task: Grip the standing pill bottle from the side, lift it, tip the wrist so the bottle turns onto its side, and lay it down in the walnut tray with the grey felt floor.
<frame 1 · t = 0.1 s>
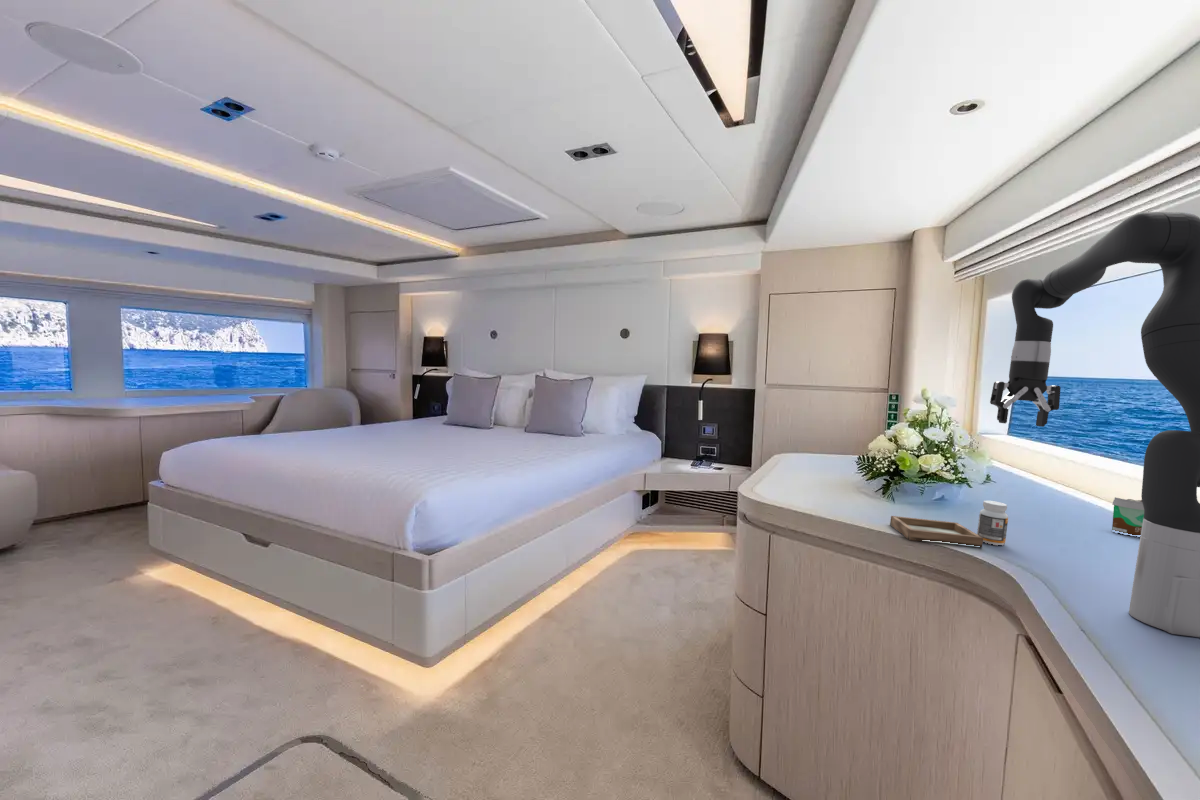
hand: (1021, 424, 132), 29 cm above the cabinet, tool pointing down, fingers open, 8 cm apart
food container: (1136, 536, 145), on the cabinet
pill bottle: (990, 543, 129), on the cabinet
tray: (933, 535, 131), on the cabinet
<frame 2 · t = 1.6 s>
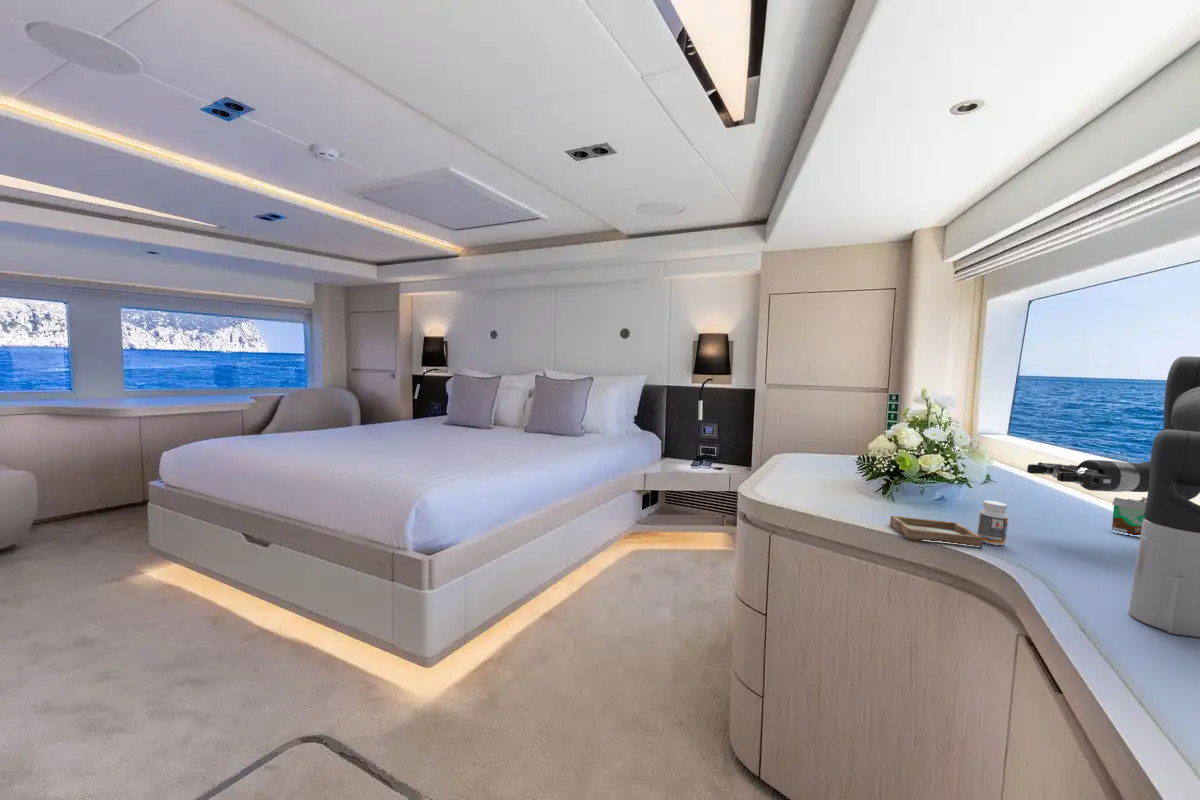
hand: (1043, 472, 128), 18 cm above the cabinet, tool horizontal, fingers open, 8 cm apart
nothing on the cabinet moved.
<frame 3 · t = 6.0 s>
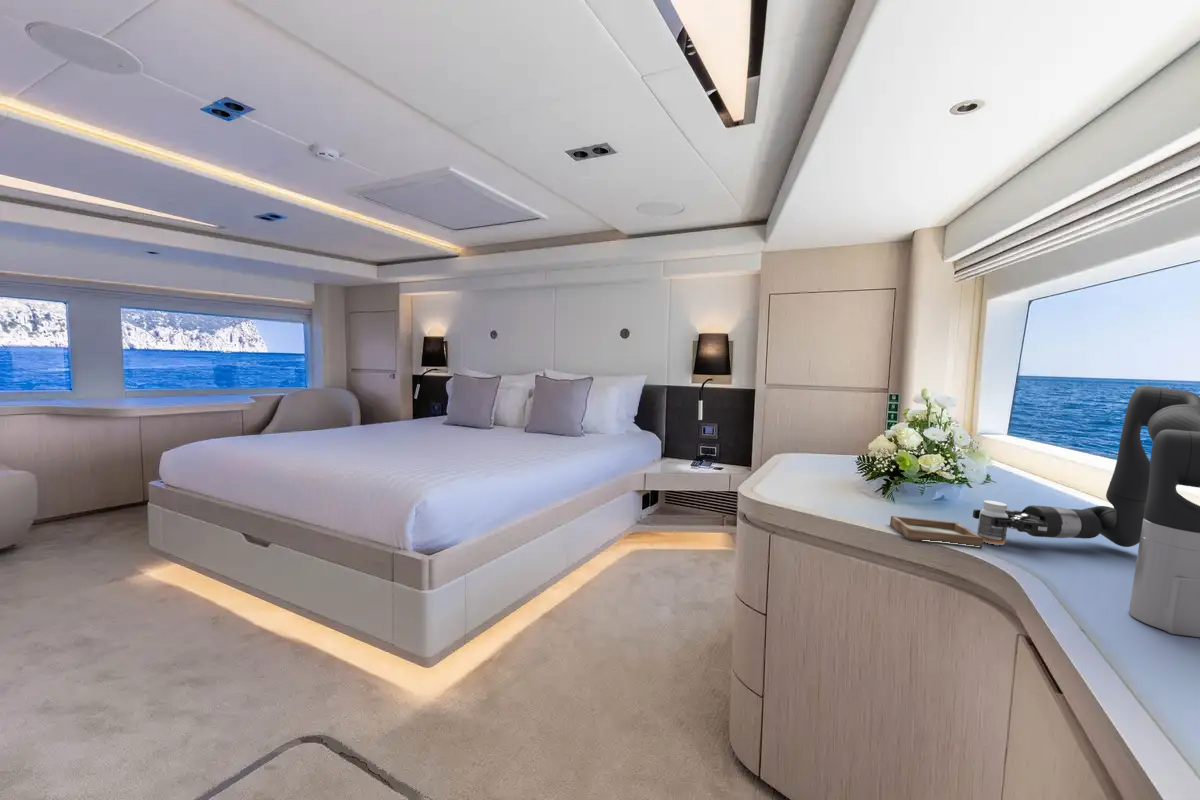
hand: (983, 517, 129), 6 cm above the cabinet, tool horizontal, fingers closed on pill bottle, 5 cm apart
pill bottle: (990, 542, 129), on the cabinet, touching gripper
everything else where it was.
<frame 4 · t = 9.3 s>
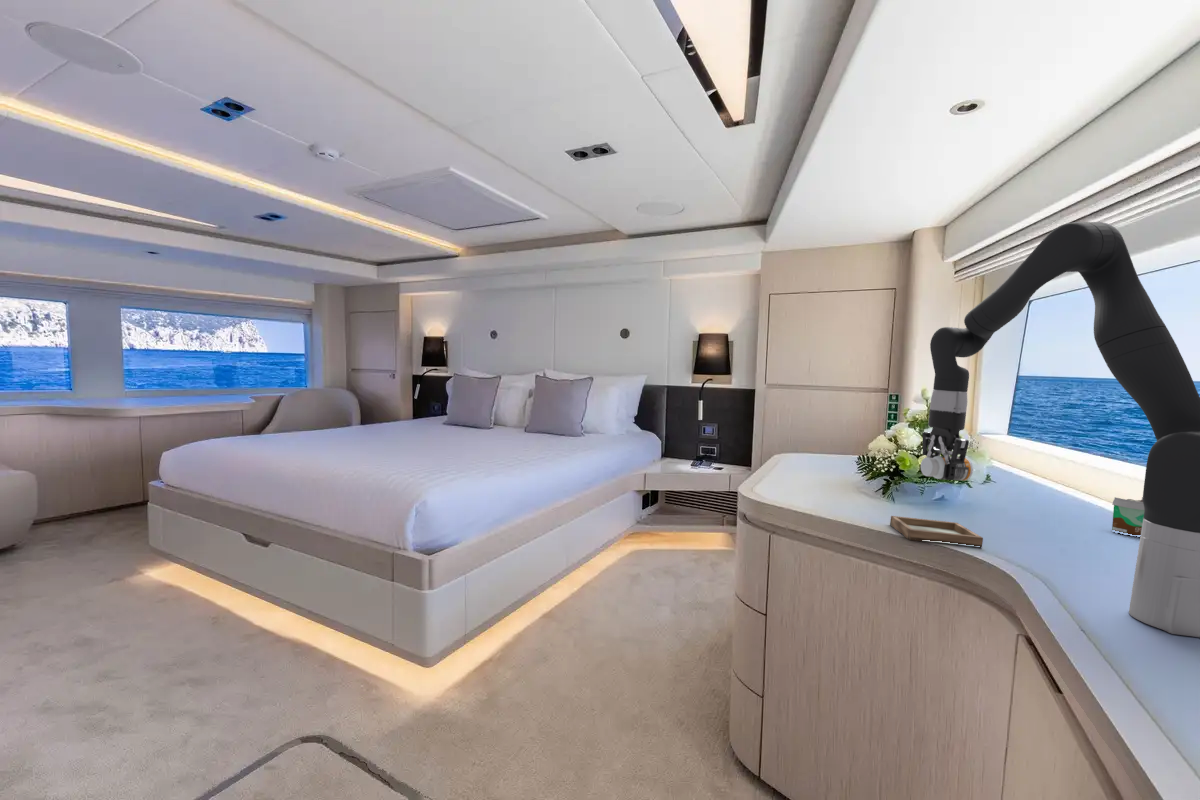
hand: (940, 476, 130), 15 cm above the cabinet, tool pointing down, fingers closed on pill bottle, 5 cm apart
pill bottle: (966, 469, 130), point 17 cm above the cabinet, touching gripper
everything else where it was.
when the fingers open (3 cm above the cabinet, at t = 12.1 s): pill bottle drops 2 cm, resting on tray.
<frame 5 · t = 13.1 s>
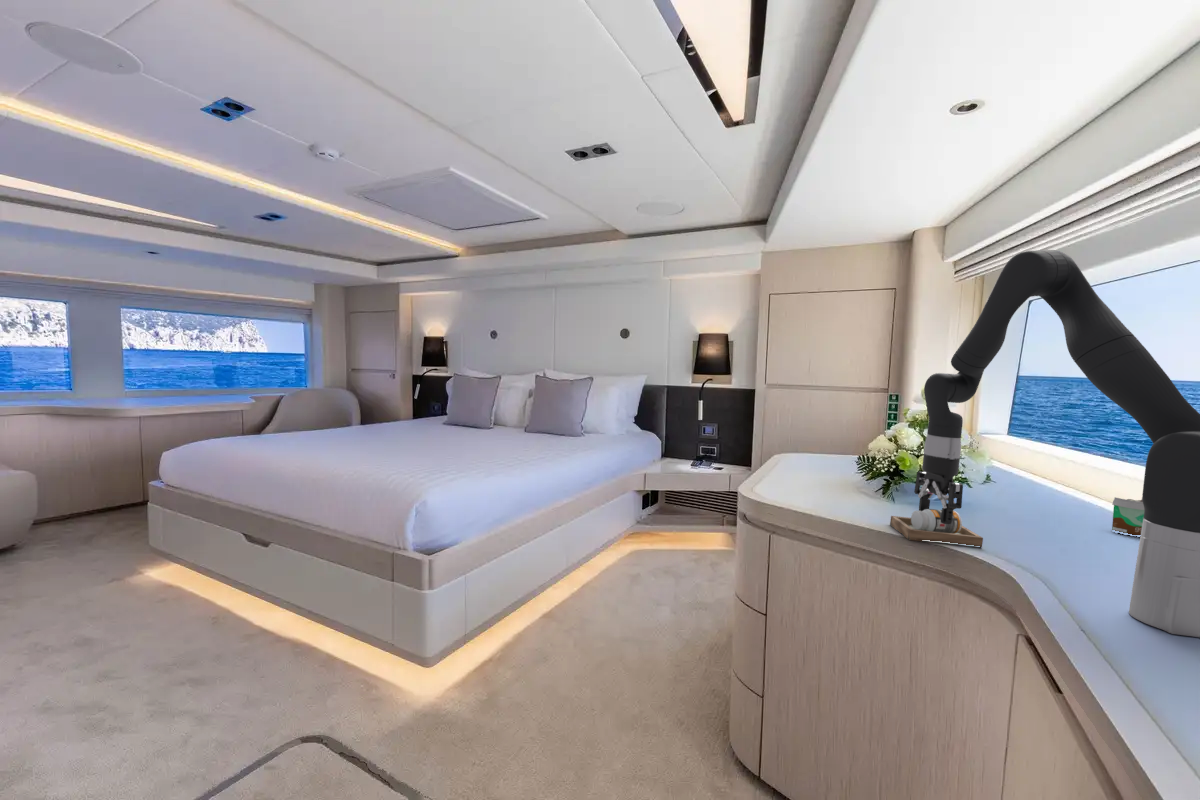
hand: (934, 518, 131), 5 cm above the cabinet, tool pointing down, fingers open, 8 cm apart
pill bottle: (955, 522, 132), point 4 cm above the cabinet, touching tray
everything else where it was.
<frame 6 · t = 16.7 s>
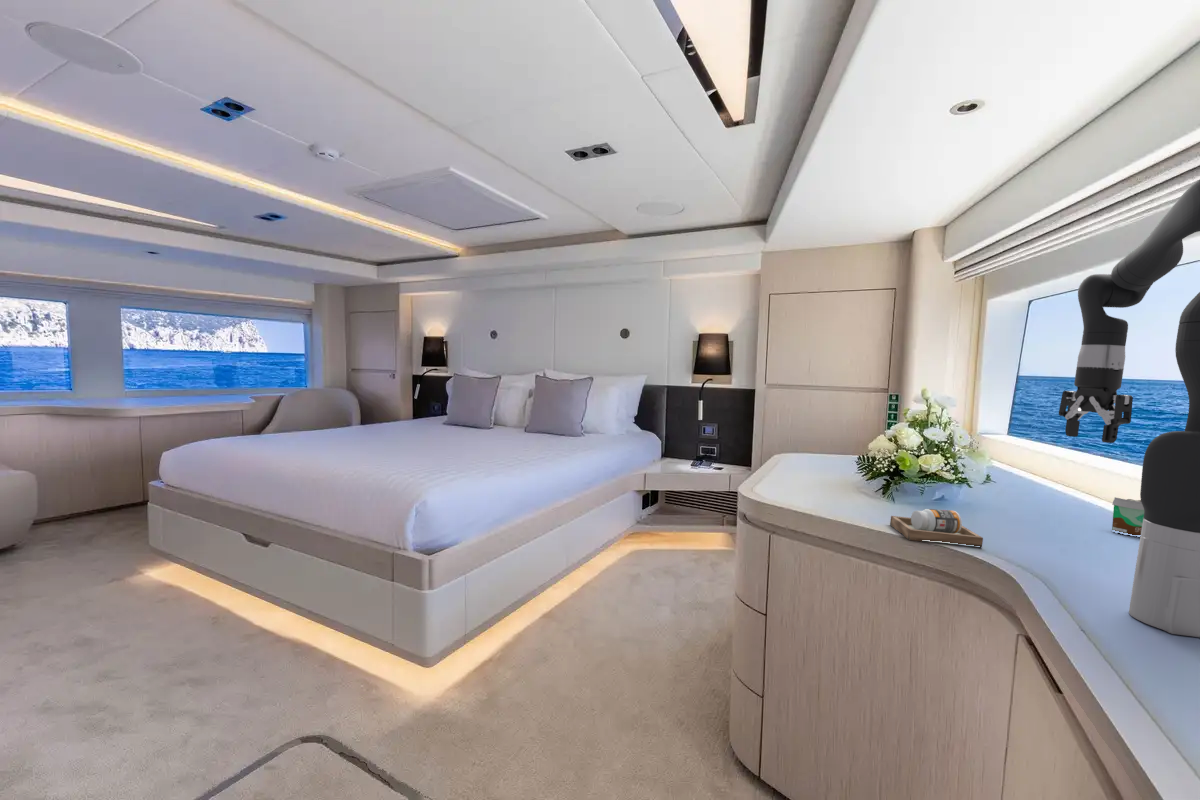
hand: (1089, 439, 116), 28 cm above the cabinet, tool pointing down, fingers open, 8 cm apart
nothing on the cabinet moved.
at the end: pill bottle tilted 90°; pill bottle inside the target area on the tray (5.9 cm from its centre), point 3.6 cm above the tray's base; the gripper is holding nothing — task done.
